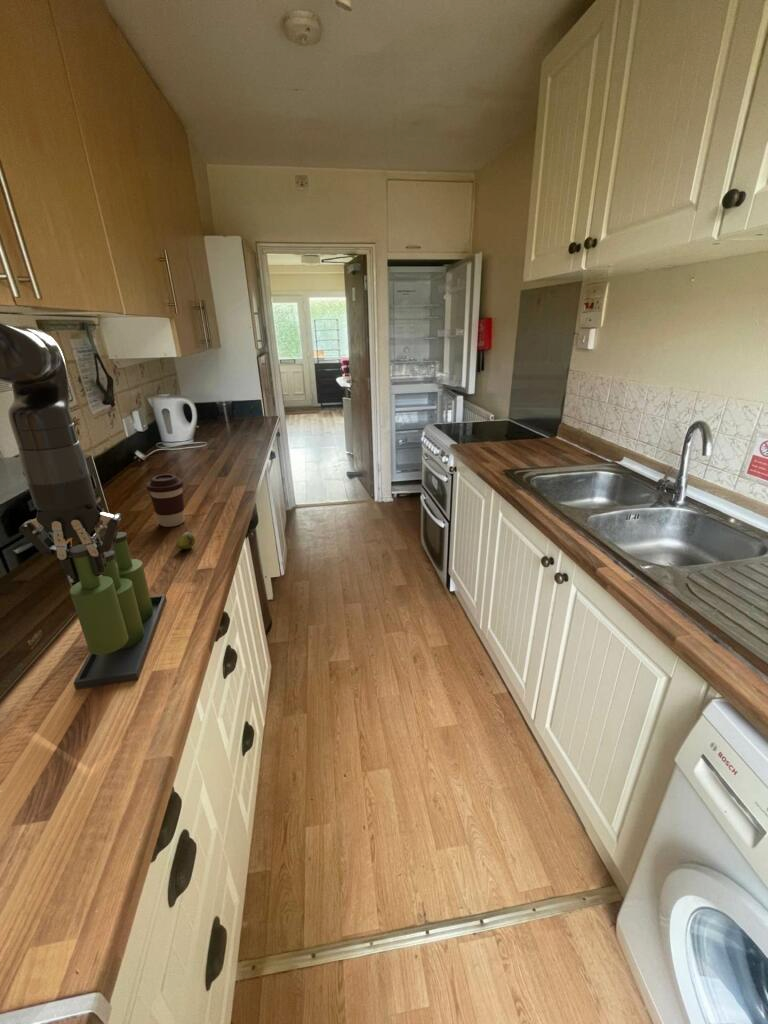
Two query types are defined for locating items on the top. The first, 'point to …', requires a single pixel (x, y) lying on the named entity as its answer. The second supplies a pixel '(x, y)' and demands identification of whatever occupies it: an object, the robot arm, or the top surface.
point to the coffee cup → (167, 499)
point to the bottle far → (133, 575)
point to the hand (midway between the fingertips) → (87, 574)
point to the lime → (186, 541)
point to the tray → (121, 656)
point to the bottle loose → (97, 606)
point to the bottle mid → (125, 601)
